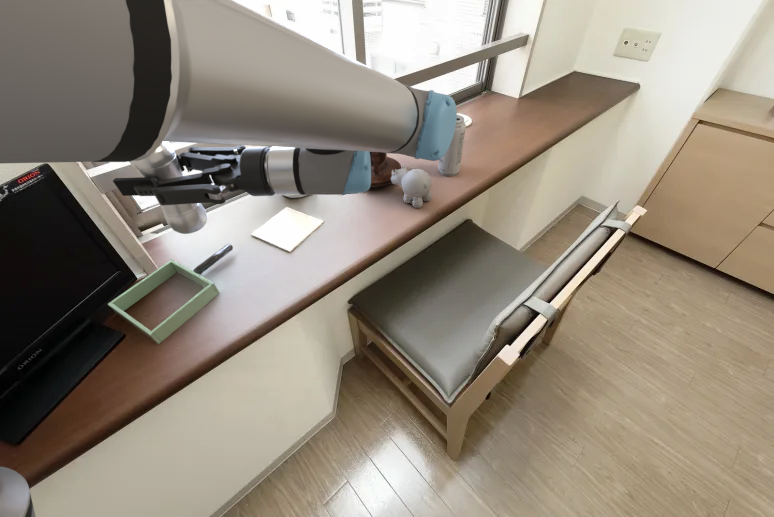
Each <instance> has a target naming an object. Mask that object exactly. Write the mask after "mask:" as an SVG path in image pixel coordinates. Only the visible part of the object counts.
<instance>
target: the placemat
mask: <svg viewBox="0 0 774 517" xmlns="http://www.w3.org/2000/svg"><path fill="white" fill-rule="evenodd" d="M324 223H325V221H324V220H322V219H320V218H317V217H314V216H312V215H309V214H307V213H303V212H301V211H298V210H296V209H293V208H290V207H288V206H286V207H285V208H284V209H282V210H281V211H279V212H278V213H276V214H275V215H274V216H273V217H271V218H270V219H269V220H267V221H266V222H265V223H264V224H263V225H261V226H259V228H256V230H255V231H253V232H252V233H251V234H250V235H251V236H252V237H254V238H256V239H259V240H261V241H263V242H264V243H265V242H266V243H267V244H270V245H272V246H274V247H276V248H279V249H280V250H283V251H285V252H288V253H292V251H294V250H295V249H296V248H298V247H299V245H301V244H302V243H303V242H304V241H305V240H306V239H307V238H308V237H310V236H311V235H312V234H313V233H314V232H315V231H316V230H318V228H320V227H321V226H323V224H324Z"/></svg>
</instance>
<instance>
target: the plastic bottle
mask: <svg viewBox="0 0 774 517" xmlns="http://www.w3.org/2000/svg"><path fill="white" fill-rule="evenodd" d="M176 155H177V154H176V152H175V149H174V146H173V145H172V144H171V143H170V142H169V141H163V142H162V143H161V145H160V146H159V147H158V148H157V150H156V151H155V152H154V153H152V154H151V155H150V156H148V157H147V158H145V159H142V160H140V161H132V162H129V164H130V165H131V166H132V167H133V169H134V170H135V171H136V173H137V174H139V176H140V177H155V176H156V177H157V178H158V179H159V180H164V179H170V178H176V177H181V176H185V175H184V172H182V171H181V168H180V165H179V162H178V160H177V157H176ZM158 205H159V207H160V209H161V210H162V214H163V217H164V219H165V221H166V224H167V225H168V226H169V227H170V228H171V229H172V231H174V232H176V233H178V234H181V235H189V234H193V233H196V232H198V231H201V230H202V229H203V228H204V227H205V226H206V224H207V221H208V214H207V211H206V209H205V207H204V206H203V203H193V204H177V205H160V203H159V202H158Z"/></svg>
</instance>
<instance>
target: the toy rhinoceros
mask: <svg viewBox="0 0 774 517" xmlns="http://www.w3.org/2000/svg"><path fill="white" fill-rule="evenodd" d="M391 182H392V183H391V184H392V185H394V186H399V187H401V188H402V191H403V193H404V194H403V198H402V199H403V202H404V203H405V204H412V207H413V208H415V209H420V208H422V207H423V204H424V202H430V201H431V200H432V196H433V195H432V191H431V188H432V179H431V177H430V175H429V173H427V171H425V170H424V169H421V168H412V169H410V170H407V168H406V165H405V164H403V165H402V166H401V169H399V170H396V169H395V173H394V171H393V170H392V177H391Z"/></svg>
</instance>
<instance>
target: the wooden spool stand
mask: <svg viewBox="0 0 774 517" xmlns="http://www.w3.org/2000/svg"><path fill="white" fill-rule="evenodd" d="M387 154H388V153H382V152H370V158H371V185H370V188H378V187H379V188H380V187H384V186H388V185H391V184H393V183H392V182H391V177H392V170H393V171H394V173H395V169H396V170H399V169H401V168H402V165H401V163H400V162H399V161H398V160H397V159H394V158H392V157H390V156H387Z"/></svg>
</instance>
